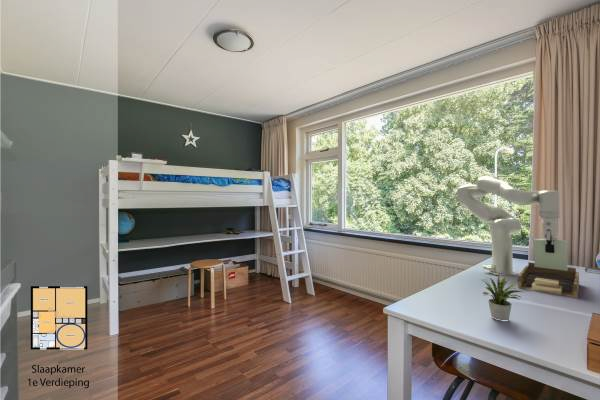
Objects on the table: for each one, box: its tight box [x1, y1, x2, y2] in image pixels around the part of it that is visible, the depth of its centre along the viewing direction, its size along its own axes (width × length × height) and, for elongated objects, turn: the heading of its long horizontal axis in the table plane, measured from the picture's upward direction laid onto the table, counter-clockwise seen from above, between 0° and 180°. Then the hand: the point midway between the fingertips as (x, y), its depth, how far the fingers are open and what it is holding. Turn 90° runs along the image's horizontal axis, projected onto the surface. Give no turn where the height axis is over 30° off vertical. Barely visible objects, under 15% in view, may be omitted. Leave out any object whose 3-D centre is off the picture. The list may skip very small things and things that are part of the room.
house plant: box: [481, 275, 523, 321], centre depth 102 cm, size 14×14×16 cm
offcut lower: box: [532, 282, 562, 296], centre depth 127 cm, size 6×10×2 cm, turn 44°
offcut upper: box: [535, 278, 559, 289], centre depth 127 cm, size 4×8×2 cm, turn 44°
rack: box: [517, 261, 580, 299], centre depth 134 cm, size 25×20×9 cm
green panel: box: [533, 238, 569, 271], centre depth 138 cm, size 3×12×14 cm, turn 44°
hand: (550, 251), depth 138 cm, fingers closed on green panel, 3 cm apart
